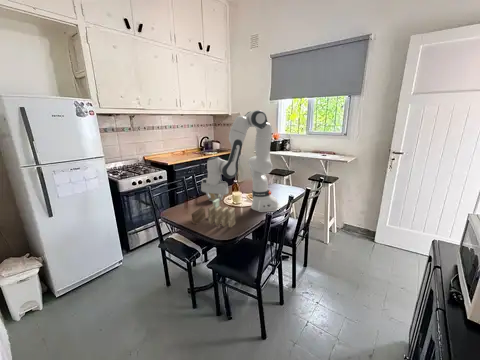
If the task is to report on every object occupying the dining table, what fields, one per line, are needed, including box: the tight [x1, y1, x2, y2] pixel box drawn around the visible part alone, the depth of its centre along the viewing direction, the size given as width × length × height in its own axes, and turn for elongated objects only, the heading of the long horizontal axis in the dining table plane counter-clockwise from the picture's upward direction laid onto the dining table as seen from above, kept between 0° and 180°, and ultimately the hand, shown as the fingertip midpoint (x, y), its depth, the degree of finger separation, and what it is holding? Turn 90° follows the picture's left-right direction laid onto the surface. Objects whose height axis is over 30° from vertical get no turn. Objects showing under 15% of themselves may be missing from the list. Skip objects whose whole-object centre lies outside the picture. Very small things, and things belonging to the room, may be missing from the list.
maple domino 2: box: [214, 206, 223, 226], centre depth 153 cm, size 2×6×11 cm, turn 157°
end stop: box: [191, 207, 206, 225], centre depth 160 cm, size 3×12×7 cm, turn 157°
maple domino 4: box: [228, 207, 236, 229], centre depth 149 cm, size 2×6×11 cm, turn 157°
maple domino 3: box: [221, 206, 229, 228], centre depth 151 cm, size 2×6×11 cm, turn 157°
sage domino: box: [212, 199, 220, 209], centre depth 167 cm, size 2×6×11 cm, turn 157°
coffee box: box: [208, 193, 221, 202], centre depth 196 cm, size 9×6×16 cm
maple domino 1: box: [207, 204, 215, 225], centre depth 155 cm, size 2×6×11 cm, turn 157°
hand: (215, 198), depth 165 cm, fingers open, 8 cm apart
